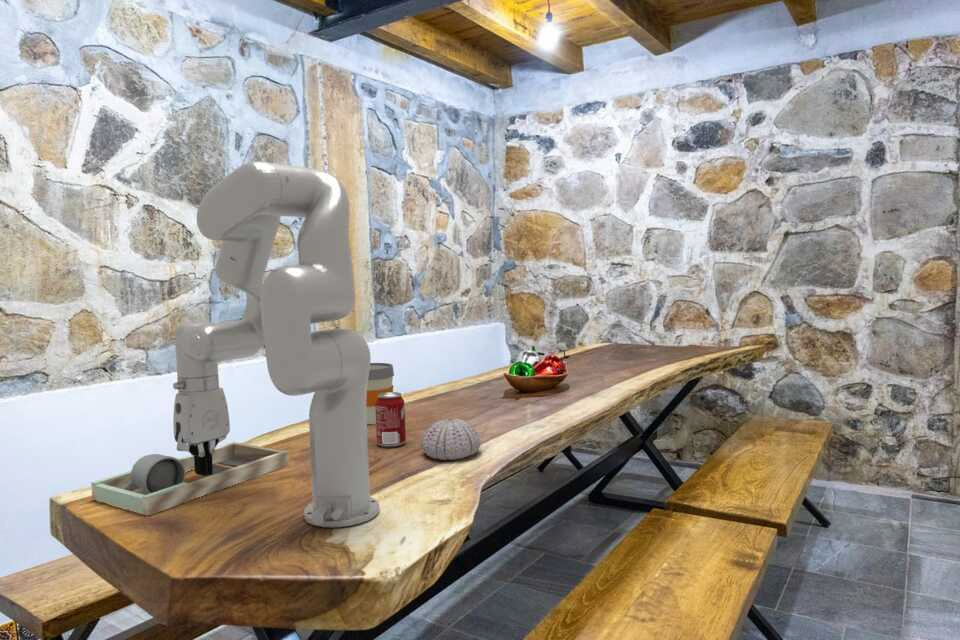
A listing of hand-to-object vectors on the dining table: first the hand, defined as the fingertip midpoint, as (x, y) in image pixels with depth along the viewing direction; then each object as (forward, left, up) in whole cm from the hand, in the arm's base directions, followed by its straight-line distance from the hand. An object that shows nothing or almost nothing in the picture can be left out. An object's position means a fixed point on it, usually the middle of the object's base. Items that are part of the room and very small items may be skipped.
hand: (204, 473), depth 133 cm
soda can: (+25, -33, -1) cm, 41 cm away
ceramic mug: (-9, +6, -1) cm, 11 cm away
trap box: (-1, +1, -1) cm, 2 cm away
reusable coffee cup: (+49, -23, -1) cm, 54 cm away
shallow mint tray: (-12, +6, -1) cm, 14 cm away
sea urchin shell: (+17, -48, -2) cm, 51 cm away
